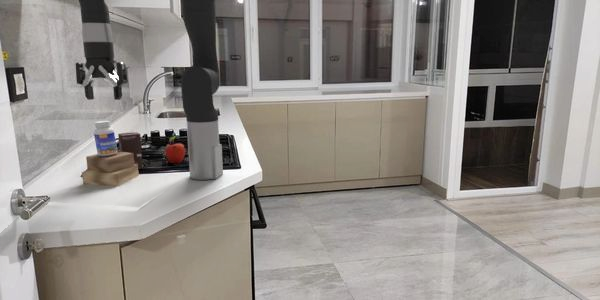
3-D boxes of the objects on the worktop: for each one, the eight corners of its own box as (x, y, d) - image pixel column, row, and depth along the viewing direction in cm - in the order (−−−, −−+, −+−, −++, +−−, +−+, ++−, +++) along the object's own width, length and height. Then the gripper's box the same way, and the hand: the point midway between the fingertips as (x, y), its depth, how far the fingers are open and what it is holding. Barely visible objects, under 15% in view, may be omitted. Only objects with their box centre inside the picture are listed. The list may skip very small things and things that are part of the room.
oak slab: (138, 176, 129) (137, 164, 128) (119, 187, 118) (117, 173, 117) (105, 175, 130) (104, 163, 130) (83, 185, 120) (81, 172, 119)
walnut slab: (134, 166, 126) (133, 153, 125) (109, 173, 118) (108, 159, 117) (113, 163, 129) (111, 150, 129) (87, 170, 121) (86, 156, 121)
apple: (163, 162, 145) (160, 134, 143) (182, 159, 149) (180, 132, 147) (170, 166, 139) (168, 137, 137) (190, 163, 143) (188, 135, 141)
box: (123, 173, 131) (120, 135, 129) (121, 170, 135) (117, 133, 133) (143, 170, 135) (140, 133, 132) (140, 167, 138) (137, 131, 136)
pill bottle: (101, 157, 119) (95, 124, 117) (95, 154, 123) (89, 122, 121) (120, 153, 123) (115, 120, 120) (113, 150, 127) (108, 119, 124)
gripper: (129, 41, 118) (134, 98, 122) (83, 42, 121) (89, 98, 124) (113, 39, 111) (119, 101, 115) (65, 40, 113) (72, 100, 117)
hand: (104, 99), depth 119 cm, fingers open, 8 cm apart
